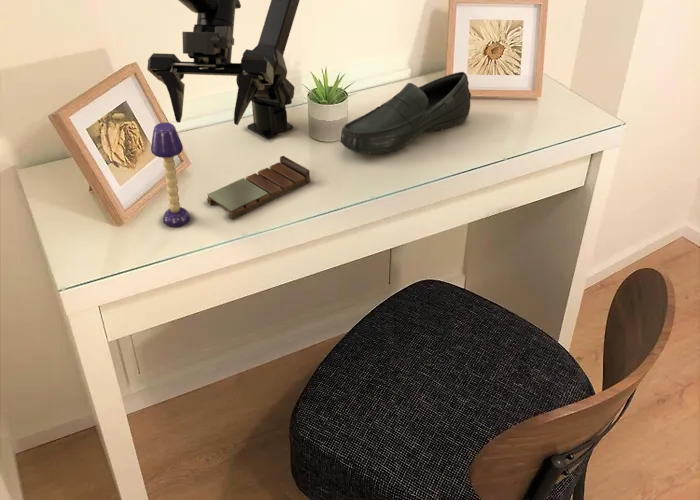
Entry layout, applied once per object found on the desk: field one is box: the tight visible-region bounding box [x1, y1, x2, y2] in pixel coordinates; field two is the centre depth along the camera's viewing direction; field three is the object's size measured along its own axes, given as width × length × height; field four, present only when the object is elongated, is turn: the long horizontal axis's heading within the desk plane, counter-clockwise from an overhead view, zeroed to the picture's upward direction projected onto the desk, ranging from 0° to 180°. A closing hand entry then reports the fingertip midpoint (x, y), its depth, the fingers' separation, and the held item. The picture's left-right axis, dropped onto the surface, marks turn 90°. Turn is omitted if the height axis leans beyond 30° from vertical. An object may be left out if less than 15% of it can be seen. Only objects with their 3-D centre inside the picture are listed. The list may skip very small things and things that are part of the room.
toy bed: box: [206, 155, 311, 221], centre depth 126 cm, size 16×7×2 cm, turn 134°
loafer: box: [340, 71, 472, 155], centre depth 140 cm, size 10×29×10 cm, turn 132°
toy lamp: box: [150, 122, 191, 228], centre depth 116 cm, size 5×5×17 cm
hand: (206, 122), depth 117 cm, fingers open, 9 cm apart
